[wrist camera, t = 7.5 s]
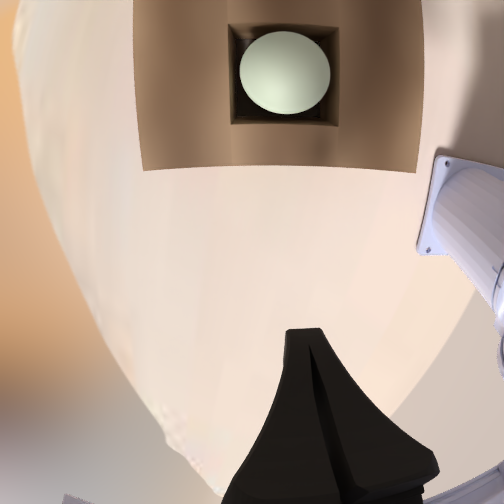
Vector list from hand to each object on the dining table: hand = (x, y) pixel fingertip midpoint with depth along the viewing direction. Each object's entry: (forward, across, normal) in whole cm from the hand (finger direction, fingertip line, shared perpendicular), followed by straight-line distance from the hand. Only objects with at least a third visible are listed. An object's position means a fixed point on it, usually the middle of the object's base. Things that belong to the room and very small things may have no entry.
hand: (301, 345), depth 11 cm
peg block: (+10, 0, -15) cm, 18 cm away
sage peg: (+10, 0, -10) cm, 14 cm away
